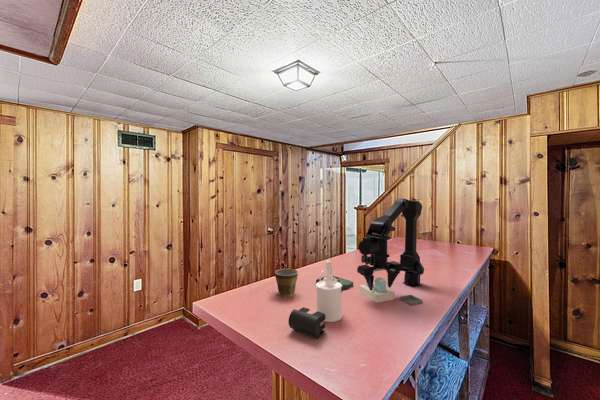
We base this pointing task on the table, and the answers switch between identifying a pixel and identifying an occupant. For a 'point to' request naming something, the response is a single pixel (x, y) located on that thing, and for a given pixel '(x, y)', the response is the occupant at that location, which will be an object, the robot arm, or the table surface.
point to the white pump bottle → (329, 296)
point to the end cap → (307, 322)
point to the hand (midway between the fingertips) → (380, 288)
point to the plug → (380, 285)
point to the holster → (410, 299)
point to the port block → (376, 293)
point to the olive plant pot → (286, 281)
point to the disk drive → (345, 283)
